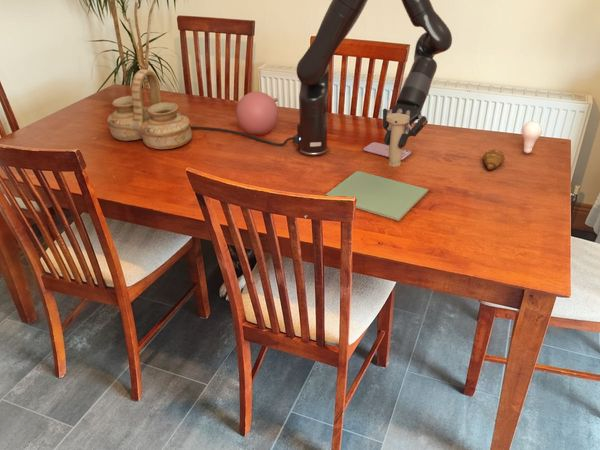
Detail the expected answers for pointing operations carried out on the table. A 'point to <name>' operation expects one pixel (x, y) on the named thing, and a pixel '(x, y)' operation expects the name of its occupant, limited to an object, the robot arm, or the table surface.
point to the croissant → (493, 159)
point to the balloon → (257, 113)
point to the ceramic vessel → (149, 117)
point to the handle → (396, 137)
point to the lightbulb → (530, 135)
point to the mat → (379, 194)
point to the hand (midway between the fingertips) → (393, 145)
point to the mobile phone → (383, 150)
